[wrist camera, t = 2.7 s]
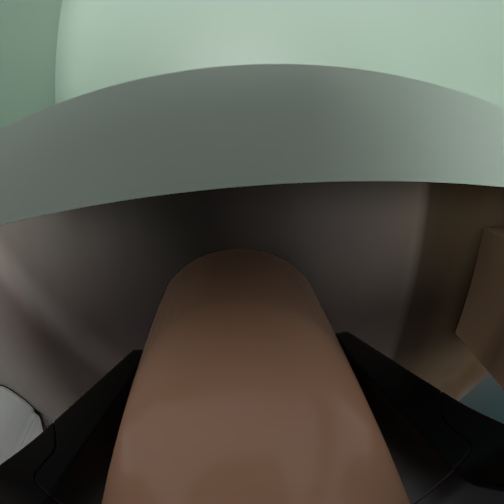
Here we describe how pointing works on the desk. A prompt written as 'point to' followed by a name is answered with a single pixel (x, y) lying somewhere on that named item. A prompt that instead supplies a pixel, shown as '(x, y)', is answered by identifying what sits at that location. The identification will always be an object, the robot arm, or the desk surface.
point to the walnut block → (486, 305)
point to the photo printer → (16, 423)
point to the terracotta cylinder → (247, 398)
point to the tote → (243, 96)
